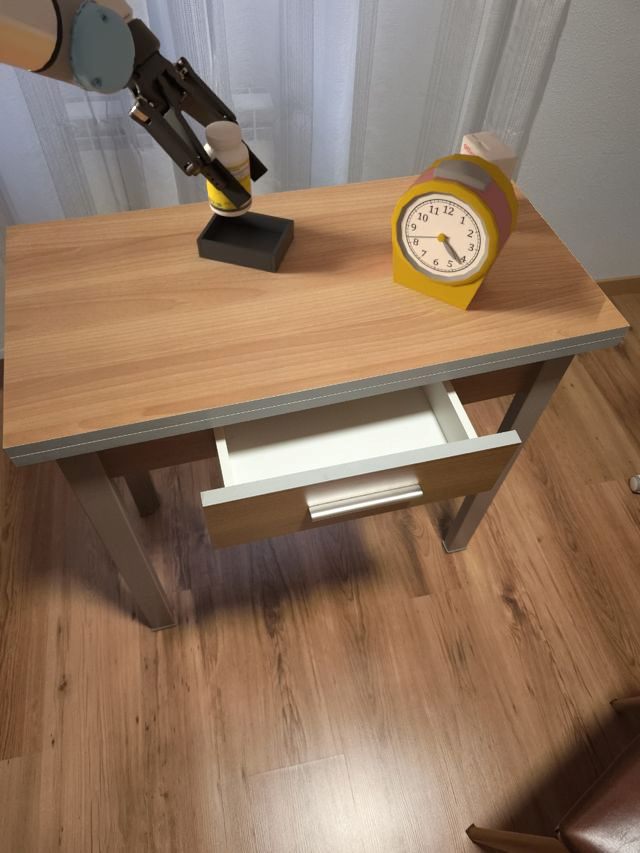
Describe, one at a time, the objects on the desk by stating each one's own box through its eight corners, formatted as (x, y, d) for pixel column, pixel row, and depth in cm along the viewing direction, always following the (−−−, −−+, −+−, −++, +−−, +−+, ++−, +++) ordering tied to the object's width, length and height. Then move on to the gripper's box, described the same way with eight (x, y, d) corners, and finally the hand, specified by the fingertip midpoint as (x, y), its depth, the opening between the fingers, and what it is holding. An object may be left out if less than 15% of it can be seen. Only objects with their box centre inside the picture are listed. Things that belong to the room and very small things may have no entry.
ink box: (498, 226, 93) (521, 156, 83) (471, 232, 92) (491, 162, 82) (472, 197, 97) (491, 128, 88) (446, 203, 96) (462, 133, 87)
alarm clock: (380, 280, 84) (398, 160, 69) (404, 251, 88) (425, 132, 73) (474, 317, 80) (515, 199, 65) (494, 285, 84) (536, 166, 69)
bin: (199, 257, 86) (196, 239, 83) (221, 222, 91) (219, 205, 89) (275, 273, 84) (275, 256, 82) (294, 237, 89) (294, 219, 87)
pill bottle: (212, 193, 84) (202, 116, 75) (253, 194, 84) (248, 118, 76) (207, 217, 81) (195, 140, 72) (250, 219, 81) (244, 142, 72)
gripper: (137, 31, 76) (258, 168, 87) (61, 94, 65) (211, 241, 76) (166, -11, 71) (291, 140, 82) (89, 49, 60) (246, 214, 71)
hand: (252, 188), depth 79 cm, fingers closed on pill bottle, 6 cm apart
